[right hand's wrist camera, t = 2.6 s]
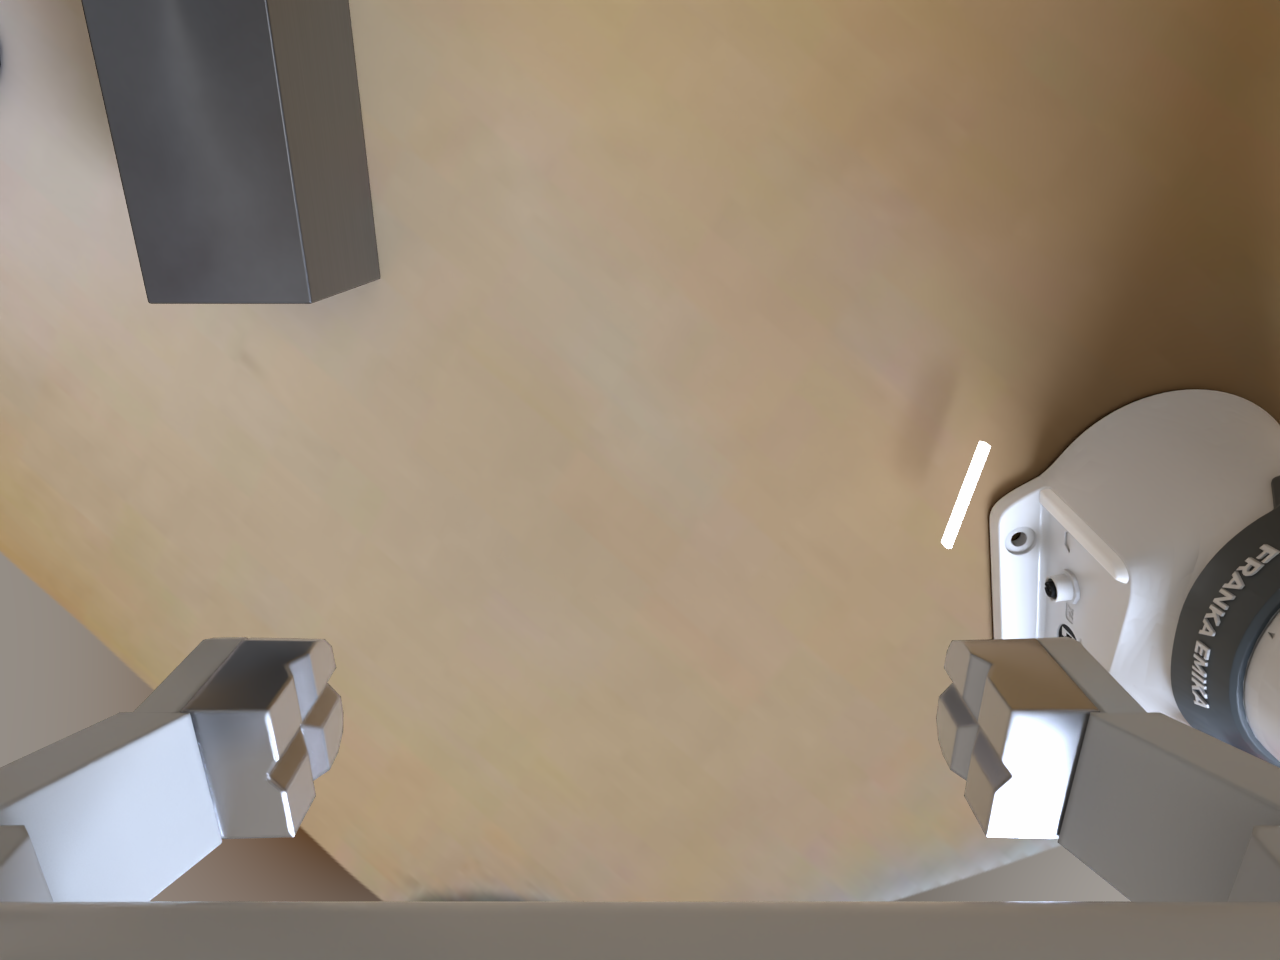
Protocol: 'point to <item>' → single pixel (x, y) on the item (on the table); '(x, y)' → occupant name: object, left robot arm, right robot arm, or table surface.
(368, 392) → the table surface
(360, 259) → the box
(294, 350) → the table surface
